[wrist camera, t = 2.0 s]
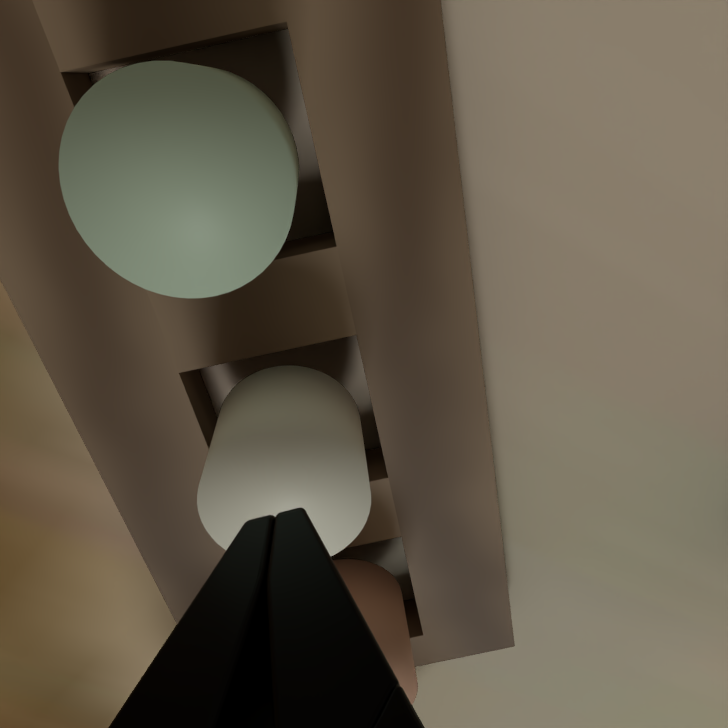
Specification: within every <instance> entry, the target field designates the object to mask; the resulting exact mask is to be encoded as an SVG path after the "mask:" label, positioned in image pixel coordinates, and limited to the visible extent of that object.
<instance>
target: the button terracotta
mask: <svg viewBox="0 0 728 728" xmlns="http://www.w3.org/2000/svg"><path fill="white" fill-rule="evenodd" d="M333 562H334V564H335V565H336V567H337V569H338V571H339V573H340V575H341V576H342V578H343V580H344V582H345V584H346V586H347V587H348V589H349V591H350V593H351V595H352V597H353V598H354V600H355V602H356V604H357V606H358V608H359V609H360V611H361V613H362V615H363V617H364V619H365V620H366V622H367V624H368V626H369V628H370V630H371V631H372V633H373V635H374V637H375V639H376V641H377V643H378V644H379V646H380V648H381V650H382V652H383V654H384V655H385V657H386V659H387V661H388V663H389V665H390V666H391V668H392V670H393V672H394V674H395V676H396V677H397V679H398V681H399V684H400V686H401V687H402V688H403V690H404V691H405V693H406V695H407V697H408V699H409V701H410V702H411V704H413V702H414V700H415V698H416V695H417V690H418V683H417V677H416V671H415V665H414V660H413V654H412V648H411V643H410V637H409V631H408V625H407V620H406V614H405V608H404V603H403V597H402V591H401V588H400V585H399V584H398V582H397V580H396V579H395V578H394V576H393V575H392V574H390V573H389V572H388V571H387V570H385V569H384V568H382V567H380V566H378V565H376V564H373V563H371V562H367V561H363V560H356V559H339V560H333Z"/></svg>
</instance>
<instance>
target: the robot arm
mask: <svg viewBox="0 0 728 728" xmlns="http://www.w3.org/2000/svg"><path fill="white" fill-rule="evenodd" d="M109 728H425V727H424V726H423V724H422V722H421V720H420V719H419V717H418V715H417V714H416V712H415V710H414V708H413V706H412V704H411V702H410V701H409V699H408V697H407V695H406V693H405V691H404V690H403V688H402V687H401V686H400V684H399V681H398V679H397V677H396V676H395V674H394V672H393V670H392V668H391V666H390V665H389V663H388V661H387V659H386V657H385V655H384V654H383V652H382V650H381V648H380V646H379V644H378V643H377V641H376V639H375V637H374V635H373V633H372V631H371V630H370V628H369V626H368V624H367V622H366V620H365V619H364V617H363V615H362V613H361V611H360V609H359V608H358V606H357V604H356V602H355V600H354V598H353V597H352V595H351V593H350V591H349V589H348V587H347V586H346V584H345V582H344V580H343V578H342V576H341V575H340V573H339V571H338V569H337V567H336V565H335V564H334V562H333V560H332V558H331V556H330V554H329V552H328V551H327V549H326V547H325V545H324V543H323V541H322V540H321V538H320V536H319V534H318V532H317V530H316V529H315V527H314V525H313V523H312V521H311V519H310V518H309V516H308V514H307V512H306V510H305V509H304V508H301V507H300V508H295V509H291V510H287V511H283V512H280V513H278V514H277V515H276V517H275V516H273V515H267V516H263V517H259V518H255V519H250V520H248V521H247V522H245V523H244V525H243V526H242V527H241V529H240V531H239V532H238V534H237V535H236V537H235V538H234V540H233V541H232V543H231V544H230V546H229V547H228V549H227V550H226V552H225V553H224V555H223V556H222V558H221V559H220V561H219V562H218V564H217V565H216V567H215V568H214V570H213V571H212V573H211V574H210V576H209V577H208V579H207V580H206V582H205V583H204V585H203V586H202V588H201V589H200V591H199V592H198V594H197V595H196V597H195V598H194V600H193V601H192V603H191V604H190V606H189V607H188V609H187V610H186V612H185V613H184V615H183V616H182V618H181V619H180V621H179V622H178V624H177V625H176V627H175V628H174V630H173V631H172V633H171V634H170V636H169V637H168V639H167V640H166V642H165V643H164V645H163V646H162V648H161V649H160V651H159V652H158V654H157V655H156V657H155V658H154V660H153V661H152V663H151V664H150V666H149V667H148V669H147V670H146V672H145V673H144V675H143V676H142V678H141V679H140V681H139V682H138V684H137V685H136V687H135V688H134V690H133V691H132V693H131V694H130V696H129V697H128V699H127V700H126V702H125V703H124V705H123V706H122V708H121V710H120V711H119V713H118V714H117V716H116V717H115V719H114V720H113V722H112V723H111V725H110V726H109Z"/></svg>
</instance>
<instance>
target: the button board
mask: <svg viewBox="0 0 728 728" xmlns="http://www.w3.org/2000/svg"><path fill="white" fill-rule="evenodd" d="M284 29H288V30H289V35H290V39H291V44H292V48H293V53H294V57H295V62H296V66H297V71H298V75H299V80H300V84H301V88H302V93H303V97H304V102H305V106H306V111H307V115H308V120H309V124H310V129H311V133H312V138H313V142H314V147H315V151H316V156H317V160H318V165H319V169H320V174H321V178H322V183H323V187H324V192H325V196H326V201H327V205H328V210H329V214H330V219H331V223H332V227H333V232H329V233H325V234H320V235H316V236H311V237H307V238H302V239H297V240H293V241H288V242H284V244H283V246H282V248H281V250H280V251H279V253H278V254H277V256H276V257H275V258H274V260H273V261H272V262H271V264H270V265H269V266H268V267H267V268H266V269H265V270H264V271H263V272H262V273H261V274H259V275H258V276H257V277H256V278H254V279H253V280H252V281H250V282H248V283H247V284H245V285H243V286H242V287H240V288H238V289H235V290H233V291H231V292H228V293H225V294H221V295H218V296H213V297H206V298H178V297H171V296H166V295H162V294H158V293H155V292H152V291H149V290H146V289H144V288H142V287H140V286H137V285H135V284H133V283H131V282H130V281H128V280H126V279H125V278H123V277H121V276H120V275H118V274H117V273H116V272H114V271H113V270H112V269H111V268H109V267H108V266H107V265H106V264H105V263H104V262H103V261H102V260H100V259H99V258H98V257H97V256H96V255H95V254H94V252H93V251H92V250H91V249H90V248H89V246H88V245H87V244H86V243H85V241H84V240H83V238H82V237H81V235H80V234H79V232H78V231H77V229H76V227H75V225H74V223H73V221H72V219H71V217H70V215H69V213H68V210H67V207H66V204H65V202H64V199H63V194H62V190H61V185H60V177H59V150H60V144H61V139H62V135H63V132H64V129H65V126H66V123H67V120H68V119H69V117H70V115H71V113H72V111H73V109H74V107H75V106H76V104H77V103H78V102H79V100H80V99H81V98H82V96H83V95H84V94H85V93H86V92H87V91H88V90H89V89H90V88H91V87H92V83H91V81H90V78H89V75H88V73H92V72H96V71H101V70H105V69H110V68H114V67H119V66H123V65H128V64H132V63H137V62H141V61H145V60H150V59H154V58H159V57H163V56H168V55H172V54H177V53H181V52H186V51H190V50H195V49H199V48H204V47H208V46H212V45H217V44H221V43H226V42H230V41H235V40H239V39H244V38H248V37H253V36H257V35H262V34H266V33H271V32H275V31H280V30H284ZM0 280H1V282H2V284H3V286H4V288H5V290H6V291H7V293H8V295H9V297H10V299H11V301H12V303H13V305H14V307H15V309H16V311H17V313H18V315H19V317H20V319H21V321H22V323H23V325H24V327H25V329H26V330H27V332H28V334H29V336H30V338H31V340H32V342H33V344H34V346H35V348H36V350H37V352H38V354H39V356H40V358H41V360H42V362H43V364H44V366H45V368H46V370H47V371H48V373H49V375H50V377H51V379H52V381H53V383H54V385H55V387H56V389H57V391H58V393H59V395H60V397H61V399H62V401H63V403H64V405H65V407H66V409H67V410H68V412H69V414H70V416H71V418H72V420H73V422H74V424H75V426H76V428H77V430H78V432H79V434H80V436H81V438H82V440H83V442H84V444H85V446H86V448H87V449H88V451H89V453H90V455H91V457H92V459H93V461H94V463H95V465H96V467H97V469H98V471H99V473H100V475H101V477H102V479H103V481H104V483H105V485H106V487H107V489H108V490H109V492H110V494H111V496H112V498H113V500H114V502H115V504H116V506H117V508H118V510H119V512H120V514H121V516H122V518H123V520H124V522H125V524H126V526H127V528H128V529H129V531H130V533H131V535H132V537H133V539H134V541H135V543H136V545H137V547H138V549H139V551H140V553H141V555H142V557H143V559H144V561H145V563H146V565H147V567H148V568H149V570H150V572H151V574H152V576H153V578H154V580H155V582H156V584H157V586H158V588H159V590H160V592H161V594H162V596H163V598H164V600H165V602H166V604H167V606H168V608H169V609H170V611H171V613H172V615H173V617H174V619H175V621H176V623H177V624H178V622H179V621H180V619H181V618H182V616H183V615H184V613H185V612H186V610H187V609H188V607H189V606H190V604H191V603H192V601H193V600H194V598H195V597H196V595H197V594H198V592H199V591H200V589H201V588H202V586H203V585H204V583H205V582H206V580H207V579H208V577H209V576H210V574H211V573H212V571H213V570H214V568H215V567H216V565H217V564H218V562H219V561H220V559H221V558H222V556H223V555H224V553H225V552H226V550H225V549H223V548H222V547H221V546H220V545H218V544H217V543H216V542H215V541H214V539H213V538H212V537H211V536H210V535H209V533H208V532H207V531H206V529H205V527H204V525H203V523H202V522H201V519H200V516H199V513H198V507H197V493H198V487H199V483H200V479H201V476H202V472H203V469H204V465H205V462H206V458H207V455H208V451H209V448H210V444H211V441H212V437H213V434H214V430H215V427H216V423H217V417H216V415H215V412H214V409H213V407H212V404H211V401H210V399H209V396H208V393H207V391H206V388H205V385H204V383H203V380H202V377H201V375H200V372H199V369H200V368H204V367H209V366H214V365H218V364H223V363H228V362H232V361H237V360H242V359H246V358H251V357H256V356H260V355H265V354H270V353H274V352H279V351H283V350H288V349H293V348H297V347H302V346H307V345H311V344H316V343H321V342H325V341H330V340H335V339H339V338H344V337H349V336H353V335H357V340H358V344H359V349H360V353H361V358H362V362H363V366H364V371H365V375H366V380H367V384H368V389H369V393H370V398H371V402H372V407H373V411H374V416H375V420H376V425H377V429H378V434H379V438H380V443H381V447H382V448H377V449H372V450H367V451H365V455H366V462H367V469H368V476H369V483H370V490H371V507H370V513H369V516H368V518H367V521H366V523H365V525H364V527H363V529H362V530H361V532H360V533H359V534H358V536H357V537H356V538H355V539H354V540H353V541H352V542H351V543H350V544H349V545H348V546H347V547H345V548H349V547H354V546H358V545H363V544H368V543H373V542H378V541H382V540H387V539H392V538H397V537H402V541H403V546H404V550H405V555H406V559H407V564H408V568H409V573H410V577H411V582H412V586H413V591H414V595H415V599H414V600H409V601H404V602H403V603H404V608H405V614H406V620H407V625H408V631H409V637H410V643H411V648H412V654H413V660H414V665H415V667H416V666H421V665H426V664H431V663H436V662H441V661H445V660H450V659H455V658H460V657H465V656H470V655H475V654H479V653H484V652H489V651H494V650H499V649H504V648H509V647H514V646H515V645H514V637H513V628H512V619H511V610H510V602H509V593H508V584H507V576H506V567H505V558H504V550H503V541H502V532H501V523H500V515H499V506H498V497H497V489H496V480H495V471H494V463H493V454H492V445H491V436H490V428H489V419H488V410H487V402H486V393H485V384H484V375H483V367H482V358H481V349H480V341H479V332H478V323H477V315H476V306H475V297H474V288H473V280H472V271H471V262H470V254H469V245H468V236H467V228H466V219H465V210H464V201H463V193H462V184H461V175H460V167H459V158H458V149H457V140H456V132H455V123H454V114H453V106H452V97H451V88H450V80H449V71H448V62H447V53H446V45H445V36H444V27H443V19H442V10H441V1H440V0H0Z"/></svg>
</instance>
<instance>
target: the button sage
mask: <svg viewBox="0 0 728 728" xmlns="http://www.w3.org/2000/svg"><path fill="white" fill-rule="evenodd" d="M59 177H60V185H61V190H62V194H63V199H64V202H65V204H66V207H67V210H68V213H69V215H70V217H71V219H72V221H73V223H74V225H75V227H76V229H77V231H78V232H79V234H80V235H81V237H82V238H83V240H84V241H85V243H86V244H87V245H88V246H89V248H90V249H91V250H92V251H93V252H94V254H95V255H96V256H97V257H98V258H99V259H100V260H102V261H103V262H104V263H105V264H106V265H107V266H108V267H109V268H111V269H112V270H113V271H114V272H116V273H117V274H118V275H120V276H121V277H123V278H125V279H126V280H128V281H130V282H131V283H133V284H135V285H137V286H140V287H142V288H144V289H146V290H149V291H152V292H155V293H158V294H162V295H166V296H171V297H178V298H206V297H213V296H218V295H221V294H225V293H228V292H231V291H233V290H235V289H238V288H240V287H242V286H243V285H245V284H247V283H248V282H250V281H252V280H253V279H254V278H256V277H257V276H258V275H259V274H261V273H262V272H263V271H264V270H265V269H266V268H267V267H268V266H269V265H270V264H271V262H272V261H273V260H274V258H275V257H276V256H277V254H278V253H279V251H280V250H281V248H282V246H283V244H284V242H285V240H286V238H287V235H288V232H289V230H290V227H291V223H292V218H293V214H294V208H295V201H296V195H297V188H298V179H299V159H298V154H297V148H296V144H295V141H294V138H293V135H292V132H291V130H290V128H289V126H288V123H287V122H286V120H285V118H284V117H283V115H282V113H281V112H280V110H279V109H278V108H277V107H276V105H275V104H274V103H273V101H272V100H271V99H270V98H269V97H268V96H267V95H266V94H265V93H264V92H263V91H261V90H260V89H259V88H257V87H256V86H255V85H254V84H252V83H251V82H249V81H247V80H246V79H244V78H242V77H240V76H238V75H236V74H233V73H231V72H228V71H225V70H221V69H218V68H212V67H207V66H201V65H195V64H189V63H182V62H175V61H148V62H142V63H136V64H133V65H130V66H126V67H123V68H121V69H119V70H116V71H114V72H112V73H110V74H108V75H107V76H105V77H104V78H102V79H101V80H100V81H98V82H97V83H95V84H94V85H93V86H92V87H91V88H90V89H89V90H88V91H87V92H86V93H85V94H84V95H83V96H82V98H81V99H80V100H79V102H78V103H77V104H76V106H75V107H74V109H73V111H72V113H71V115H70V117H69V119H68V120H67V123H66V126H65V129H64V132H63V135H62V139H61V144H60V150H59Z"/></svg>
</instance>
